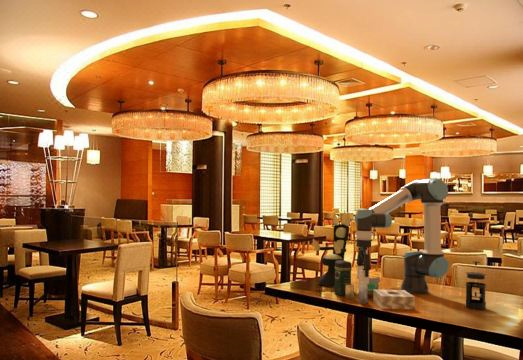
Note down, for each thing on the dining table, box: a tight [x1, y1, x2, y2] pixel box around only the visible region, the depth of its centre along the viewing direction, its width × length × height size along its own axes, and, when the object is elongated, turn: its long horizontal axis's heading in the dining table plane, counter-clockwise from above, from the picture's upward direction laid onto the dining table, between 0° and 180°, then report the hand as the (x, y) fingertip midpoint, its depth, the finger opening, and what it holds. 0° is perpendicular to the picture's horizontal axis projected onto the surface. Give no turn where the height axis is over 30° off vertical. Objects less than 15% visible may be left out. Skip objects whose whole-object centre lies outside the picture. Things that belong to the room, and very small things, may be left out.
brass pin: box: [344, 283, 355, 300], centre depth 241 cm, size 4×4×7 cm
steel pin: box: [358, 270, 368, 304], centre depth 233 cm, size 4×4×16 cm
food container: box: [367, 276, 381, 298], centre depth 248 cm, size 12×6×10 cm, turn 105°
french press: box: [465, 260, 487, 311], centre depth 226 cm, size 12×9×23 cm
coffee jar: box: [333, 259, 353, 297], centre depth 251 cm, size 10×8×19 cm
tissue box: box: [372, 289, 416, 310], centre depth 227 cm, size 16×16×6 cm
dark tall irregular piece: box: [311, 210, 352, 288], centre depth 279 cm, size 19×22×45 cm
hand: (362, 281), depth 233 cm, fingers open, 13 cm apart
